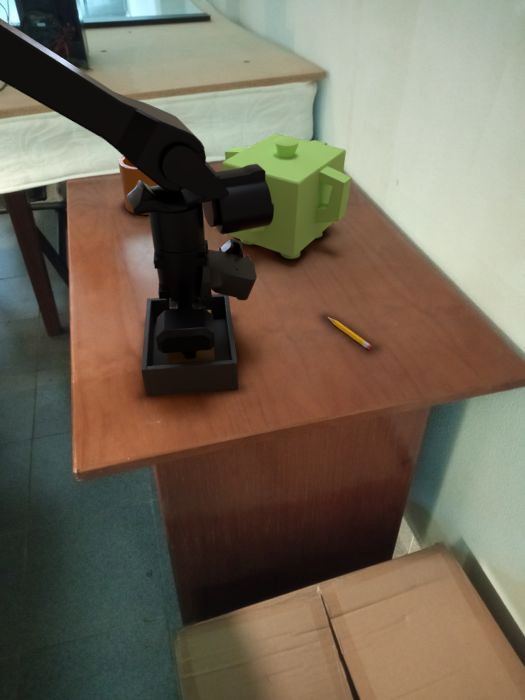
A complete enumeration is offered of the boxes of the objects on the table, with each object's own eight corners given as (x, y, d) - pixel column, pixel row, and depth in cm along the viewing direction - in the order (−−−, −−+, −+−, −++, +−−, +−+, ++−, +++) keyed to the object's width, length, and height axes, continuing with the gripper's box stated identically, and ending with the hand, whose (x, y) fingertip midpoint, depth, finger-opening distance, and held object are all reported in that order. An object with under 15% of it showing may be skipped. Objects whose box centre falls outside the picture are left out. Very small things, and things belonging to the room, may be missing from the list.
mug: (186, 214, 96) (182, 168, 90) (123, 216, 95) (115, 170, 89) (187, 194, 102) (183, 150, 96) (128, 196, 101) (120, 151, 95)
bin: (146, 396, 60) (141, 370, 57) (151, 323, 71) (146, 298, 68) (238, 389, 61) (237, 362, 58) (229, 318, 72) (228, 293, 69)
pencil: (367, 351, 67) (368, 347, 67) (325, 319, 72) (325, 316, 72) (371, 348, 68) (372, 345, 67) (329, 317, 73) (329, 314, 72)
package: (168, 364, 64) (163, 334, 60) (168, 341, 67) (164, 312, 64) (214, 361, 64) (212, 331, 61) (212, 338, 68) (210, 309, 64)
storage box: (266, 196, 102) (267, 107, 91) (367, 225, 93) (383, 131, 82) (190, 248, 86) (180, 148, 75) (303, 289, 78) (312, 184, 66)
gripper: (261, 283, 49) (259, 392, 59) (243, 199, 62) (244, 300, 73) (147, 290, 47) (165, 400, 58) (153, 203, 61) (167, 304, 72)
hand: (190, 345), depth 65 cm, fingers closed on package, 4 cm apart
